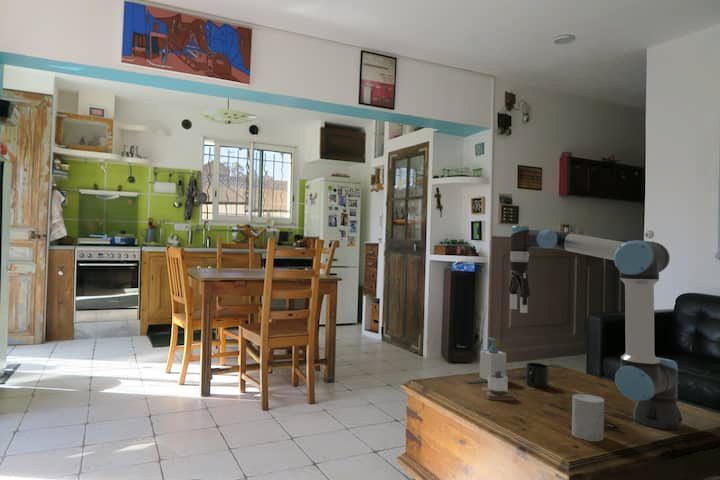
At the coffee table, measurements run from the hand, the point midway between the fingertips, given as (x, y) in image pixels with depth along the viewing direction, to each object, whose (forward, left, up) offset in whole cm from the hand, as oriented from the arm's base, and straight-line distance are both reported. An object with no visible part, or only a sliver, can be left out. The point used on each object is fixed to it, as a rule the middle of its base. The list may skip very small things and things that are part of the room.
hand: (518, 310), depth 201 cm
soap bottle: (+20, +5, -35) cm, 41 cm away
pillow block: (-6, +10, -35) cm, 37 cm away
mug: (+11, -12, -35) cm, 39 cm away
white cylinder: (-47, -8, -35) cm, 59 cm away
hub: (-6, +10, -32) cm, 34 cm away
